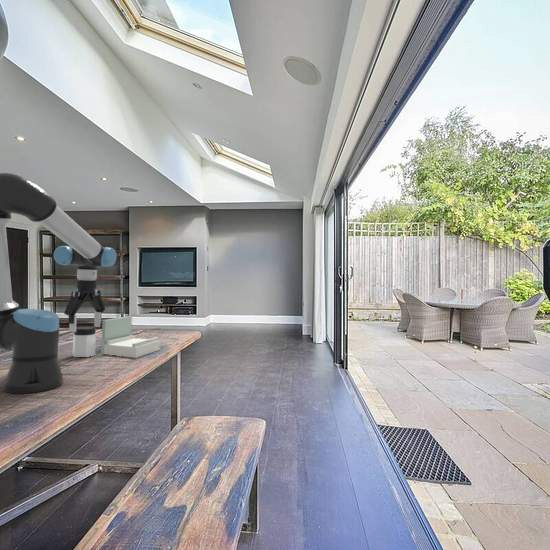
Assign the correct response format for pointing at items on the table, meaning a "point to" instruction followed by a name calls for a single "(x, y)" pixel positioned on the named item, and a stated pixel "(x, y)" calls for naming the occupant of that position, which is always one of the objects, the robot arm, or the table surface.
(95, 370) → the table surface
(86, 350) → the jar
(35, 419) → the table surface
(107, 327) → the display stand
